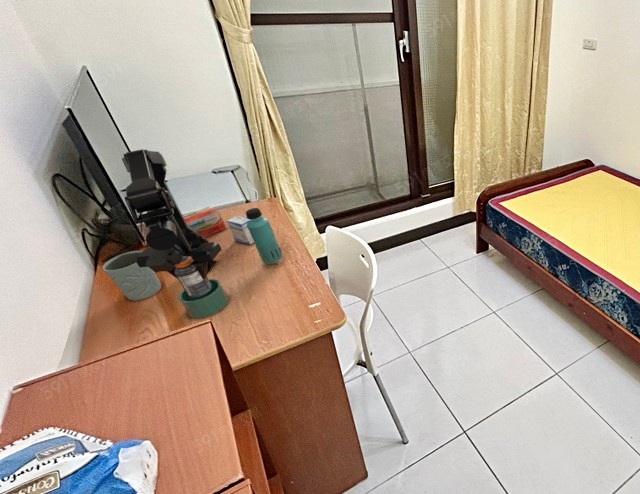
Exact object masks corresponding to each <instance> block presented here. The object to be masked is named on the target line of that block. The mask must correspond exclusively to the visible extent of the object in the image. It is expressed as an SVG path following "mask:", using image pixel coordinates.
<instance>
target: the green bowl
mask: <svg viewBox="0 0 640 494" xmlns="http://www.w3.org/2000/svg"><path fill="white" fill-rule="evenodd" d="M208 279H209V278H208ZM209 281H210V283H211V285H212V288H211V290H210V291H209V292H208V293H206V294H205V295H202V296H200V297H189V296H188V294H187V293H186V291H185V289H184V288H183V290H182V291H181V292H180V293H179V295H178V300H179V301H180V304H181V305H182V306H183V308H184V310H185V311H186V313H187V314H188V316H189V317H191V318H193V319H203V318H207V317H209V316H212V315H214V314H216V313H218V312H220V311H221V310H223V309H224V308H225V307H226V306H227V305H228V302H229V297H228V294H227V293H226V291H225V289H224V287H223V285H222V283H221V281H219V280H218V279H214V278H210V279H209Z"/></svg>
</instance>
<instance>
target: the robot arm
mask: <svg viewBox="0 0 640 494" xmlns="http://www.w3.org/2000/svg"><path fill="white" fill-rule="evenodd" d="M121 161H122V163H123V165H124V167H125V169H126V171H127V173H129V176H130V180H131V183H130V184H129V185H128V186H126V187H125V195H126V196H124V201H125V203H126V206H127V208H128V210H129V212H130V215H131V217H132V220H133V221H134V224H135V225H139V224H142V223H143V224H144V226H145V243H146V245H147V247H146V248H145V249H143V250H142V251H143V252H142V253H140V254H139V255H138V256H137V257H136V263H137V264H138V266H139V267H149V268H150V269H151V270H153V271H154V272H155V273H161V272H162V273H163V272H166V273H168V274H170V275H171V276H172V277H174V278H175V279H176V280H178V278H177V277H176V275H175V273H174V270H175V268H176V267H175V265H178V264H180V262H181V260H182V258H183V257H189V256H190V257H191V258H192V259H193V262H192V263H191V264H190V265H194V266H196V268H197V270H198V272H199V273H200V275H201V276H202V278H203V279H205V278H206V277H207V278H208V273H209V272H210V271H211V269H212V268H213V267H214V266H215V264H216V263H217V260H215V258H216V257H217V256H218V255H219V254H220V252H221V251H222V246H221V245H220V243H218V242H216V241H211V242H209V241H208V239H207V237H205V238H204V237H203V236H202V235H200V236H199V234H198V232H197V230H196V229H194V228H193V227H191V226H189V225H187V223H186V221H185V219H184V217H183V216H184V215H183V214H182V211H181V210H180V207H179V205H178V203H177V202H176V199H175V197H174V196H173V194H172V192H171V190H170V188H169V185H168V184H167V182H166V176H167V168H166V167H167V166H168V165H167V162H166V160H165V158H164V156H163V154H162V153H160V151H153V150H148V149H143V148H142V149H137V150H132V151H127V152H126V153H123V157H122V158H121Z"/></svg>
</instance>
